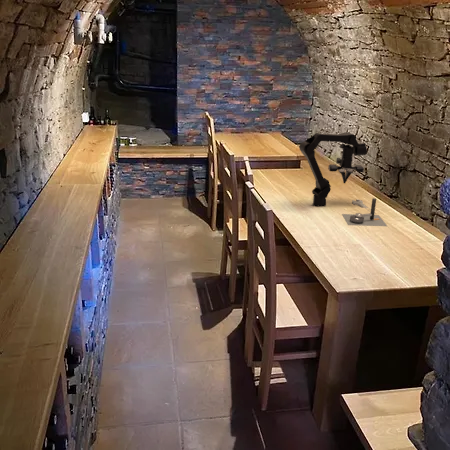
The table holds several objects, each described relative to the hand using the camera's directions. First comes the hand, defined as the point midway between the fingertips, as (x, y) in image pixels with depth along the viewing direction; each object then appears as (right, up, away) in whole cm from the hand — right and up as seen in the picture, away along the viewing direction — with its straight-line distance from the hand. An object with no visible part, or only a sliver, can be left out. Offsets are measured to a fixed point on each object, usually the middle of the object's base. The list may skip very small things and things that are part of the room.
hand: (344, 183), depth 279 cm
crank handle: (+3, -21, -23) cm, 31 cm away
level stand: (+5, -22, -21) cm, 31 cm away
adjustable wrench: (+11, -15, 0) cm, 18 cm away
